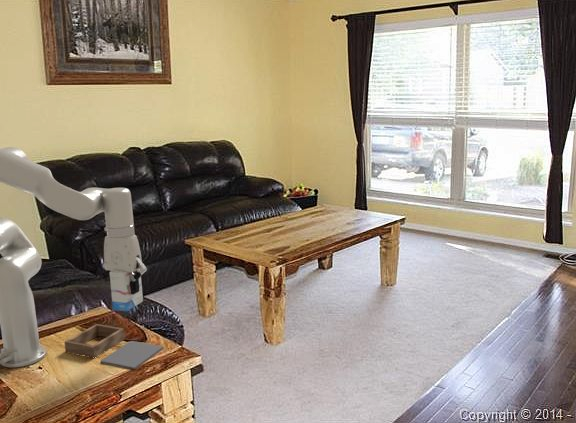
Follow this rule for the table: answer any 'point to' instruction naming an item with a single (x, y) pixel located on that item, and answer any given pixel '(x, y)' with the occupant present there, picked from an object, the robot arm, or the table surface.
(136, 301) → the ink box
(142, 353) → the rubber mat
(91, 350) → the frame
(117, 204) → the robot arm
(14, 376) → the table surface
